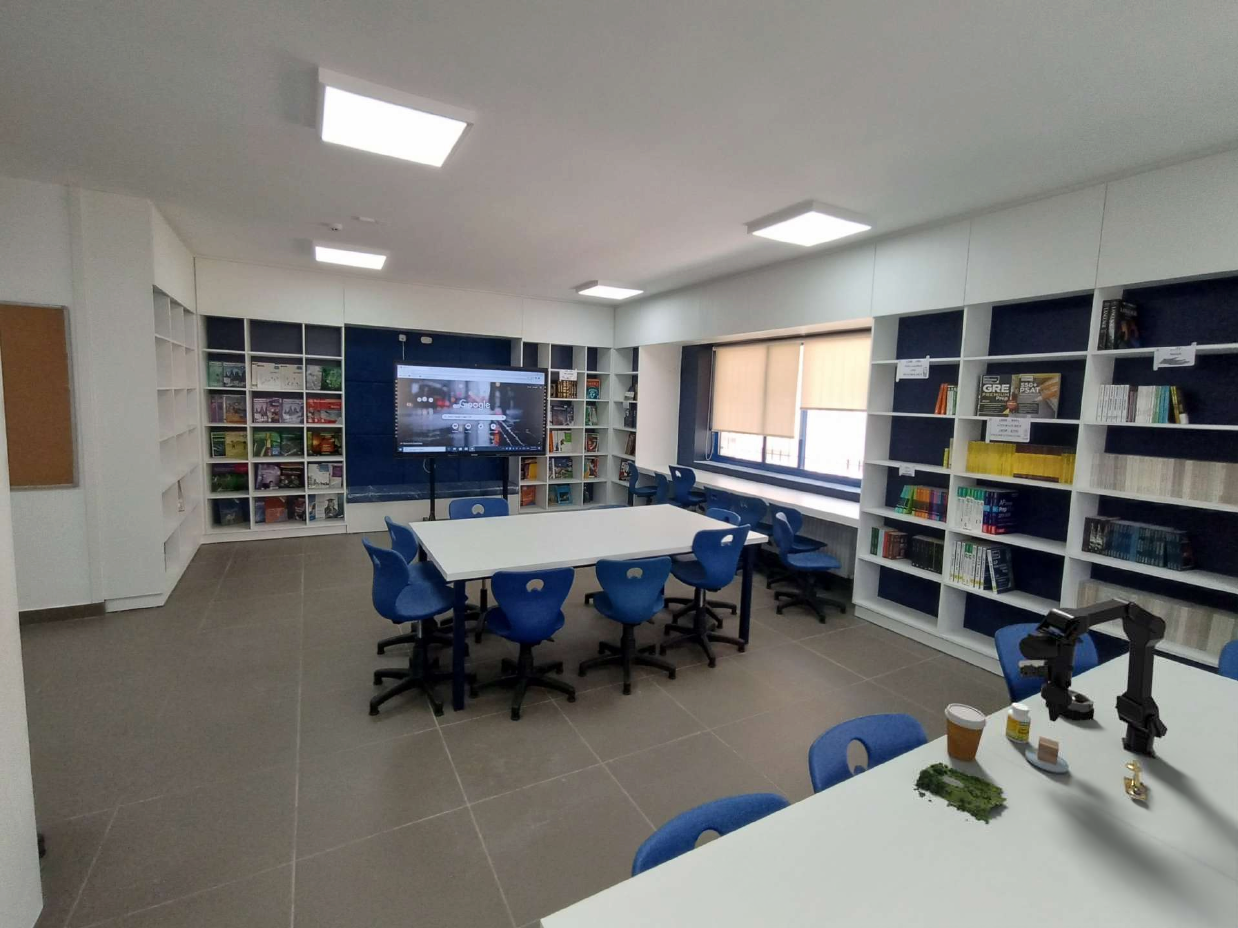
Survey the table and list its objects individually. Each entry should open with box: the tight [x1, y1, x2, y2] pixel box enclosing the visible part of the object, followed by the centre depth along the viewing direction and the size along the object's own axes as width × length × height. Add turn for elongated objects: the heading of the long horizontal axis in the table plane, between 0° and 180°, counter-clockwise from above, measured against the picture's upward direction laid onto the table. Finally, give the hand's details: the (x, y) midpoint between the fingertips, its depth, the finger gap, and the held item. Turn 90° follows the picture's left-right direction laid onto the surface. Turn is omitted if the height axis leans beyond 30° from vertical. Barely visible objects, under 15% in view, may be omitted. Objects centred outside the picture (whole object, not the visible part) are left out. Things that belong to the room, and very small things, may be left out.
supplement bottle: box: [1005, 702, 1032, 744], centre depth 159 cm, size 5×5×10 cm
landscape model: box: [913, 762, 1007, 824], centre depth 135 cm, size 17×21×5 cm
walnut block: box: [1037, 735, 1060, 765], centre depth 148 cm, size 4×4×4 cm
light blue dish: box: [1024, 747, 1069, 774], centre depth 148 cm, size 9×9×2 cm
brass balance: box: [1123, 759, 1147, 800], centre depth 140 cm, size 13×4×5 cm, turn 142°
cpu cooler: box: [1044, 689, 1095, 722], centre depth 175 cm, size 10×6×10 cm
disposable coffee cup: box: [944, 703, 987, 763], centre depth 150 cm, size 10×10×12 cm
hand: (1052, 713), depth 150 cm, fingers open, 9 cm apart
